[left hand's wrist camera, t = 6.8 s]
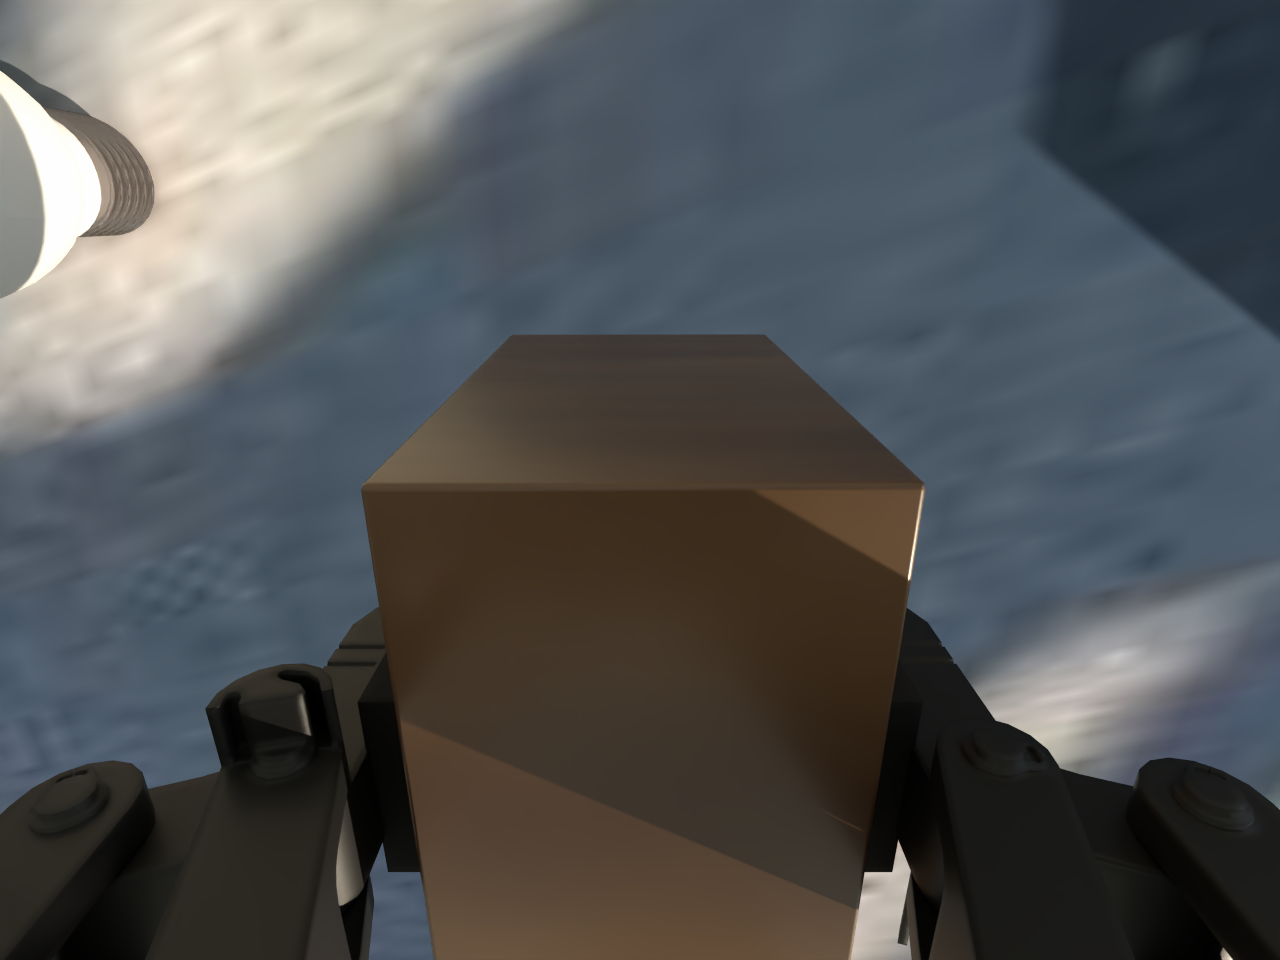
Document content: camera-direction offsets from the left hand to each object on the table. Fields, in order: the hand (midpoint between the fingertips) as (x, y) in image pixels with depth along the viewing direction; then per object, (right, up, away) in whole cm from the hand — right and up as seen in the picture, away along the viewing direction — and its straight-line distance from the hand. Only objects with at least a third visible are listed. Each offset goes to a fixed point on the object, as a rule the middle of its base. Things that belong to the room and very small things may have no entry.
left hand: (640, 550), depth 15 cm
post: (0, -22, +9) cm, 24 cm away
